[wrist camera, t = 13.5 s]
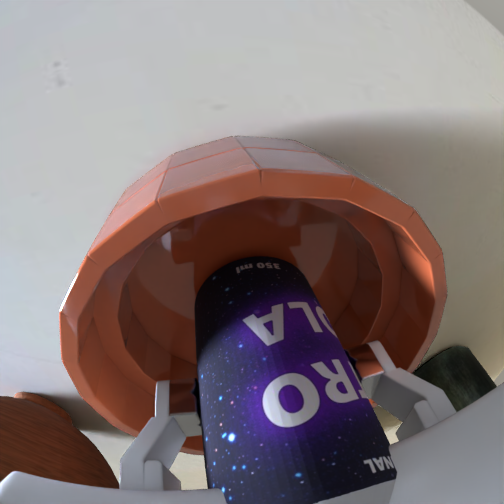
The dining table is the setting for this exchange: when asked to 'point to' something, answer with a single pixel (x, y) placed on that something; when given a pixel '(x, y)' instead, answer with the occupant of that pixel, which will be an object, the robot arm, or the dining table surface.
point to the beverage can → (282, 394)
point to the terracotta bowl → (237, 247)
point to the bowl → (48, 444)
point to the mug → (457, 376)
